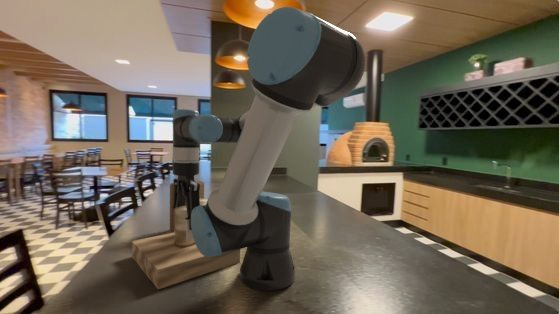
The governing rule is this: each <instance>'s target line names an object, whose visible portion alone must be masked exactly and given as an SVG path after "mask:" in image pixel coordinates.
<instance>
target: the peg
mask: <svg viewBox="0 0 559 314" xmlns="http://www.w3.org/2000/svg"><path fill="white" fill-rule="evenodd" d="M187 217H188V216H187V208H186V206H180V207H176V208H175V232H174V245H175V246H176V247H180V248H183V247H190V246H192V245H194V244H195V241H194V240H190V241H186V219H185V218H187Z"/></svg>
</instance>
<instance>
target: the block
mask: <svg viewBox="0 0 559 314" xmlns="http://www.w3.org/2000/svg"><path fill="white" fill-rule="evenodd" d="M195 183H196V184H197V183H199V184H200V189H199V198H203V199H205V182H204V181H201V180H195ZM173 193H174V182H172V183H170V184H169V233H173V232H175V209H173ZM185 206H186V201H185Z"/></svg>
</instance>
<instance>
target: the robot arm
mask: <svg viewBox="0 0 559 314" xmlns="http://www.w3.org/2000/svg"><path fill="white" fill-rule="evenodd" d="M247 47H248V48H247V57H248V58H247V60H246V62H247V63H246V64H247V68H248V72H249V74H250V75H251V77H252V79H251V84H250V85H251V87H252V89H253V92H254V93H255V96H254V99H253V101H252V103H251V107H250V109H249V110H247V111H246V112H245V113H243V114H242V115H240V116H238V117H228V116H216V115H213V114H209V113H208V114H207V113H201V114H200V112H199V111H198V110H195V109H187V108H186V109H185V108H182V109H181V108H179V109H175V110H174V111H173V113H172V114H173V115H172V161H174V162H172V174H173V175H174V176H177V178H173V181H172V182H173V183H174V193H173V209H175V208H176V207H180V206H185V201H186V208H187V216H188V217H187V218H185V219H186V241H190V240H194V241H195V244H196V246H197V248H198V250H199V251H200V253H201V254H202V255H204V256H206V257H213V256H217V255H218V256H221V255H222V254H226V253H229V252H232V251H236V250H239V249H240V250H241V249H245V250H246V251H245V254H244V256H243V260H242V263H241V265H240V267H239V268H240V269H239V279H240V282H241V283H242V284H243V285H244V286H246V287H247V288H250V289H253V290H256V291H262V292H263V291H266V292H270V291H278V290H279V291H280V290H282V289H285V288H287V287H290V286H291V285H292V284H293V283H294V282H295V280H296V267H295V265H294V262H293V257H292V254H291V250H290V245H291V244H290V241H291V240H290V238H291V221H292V219H291V216H292V209H291V204H292V203H291V200H290V198H289V197H288V196H287V195H284V194H281V193H276V192H270V191H263V190H264V188H265V185H266V184H267V182H268V178H269V177H270V175H271V172H272V170H273V168H275V167H274V166H275V165H276V163H277V160H278V159H279V156H280V154H281V152H282V150H283V148H284V146H285V144H286V142H287V140H288V138H289V136H290V134H291V131H292V130H293V128H294V126H295V124H296V122H297V119H298V118H299V115H301V114H304V113H308V112H310V111H312V109H313V108H316V107H317V106H318V107H322V108H325V107H327V106H329V105H331V104H334V103H336V102H338V101H339V100H341V99H343V98H345V97H346V96H348V95H349V94H350V93H352V92H353V91H354V90H355V89H356V88H357V86H358V85H359V83H361V81H362V78H363V76H364V73H365V69H366V55H365V51H364V47H363V46H362V44H361V42H360V41H359V40H358V39H357V38H356V36H354V35H353V34H352V33H350V32H348V31H346V30H343V29H341V28H339V27H337V26H335V25H333V24H331V23H329V22H327V21H325V20H323V19H322V18H319V17H318V16H316V15H314V14H313V13H312V12H307V11H305V10H302V9H299V8H295V7H292V6H283V7H279V8H276V9H274V10H273V11H272V12H271V13H268V14H267V15H265V17H264V18H263V19H262V20H260V22H259V23H258V25H257V26H256V28H255V30H254V31H253V33H252V36H251V38H250V40H249V44H248V46H247ZM200 144H236V145H235V148H234V150H233V153H232V155H231V158H230V160H229V163H228V166H227V167H226V172H225V174H224V175H223V179H222V181H221V183H220V187H217V188H215V189H214V190H212V191H211V193H210V194H209V197H208V198H207V200H208V201H207V203H206V205H203V206H202V205H200V199H199V189H200V184H199V183H197V184H196V183H195V181H196V179H195V176H198V175H199V173H200V163H199V162H198V161H199V160H200V153H201V151H200Z"/></svg>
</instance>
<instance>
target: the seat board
mask: <svg viewBox="0 0 559 314" xmlns="http://www.w3.org/2000/svg"><path fill="white" fill-rule="evenodd" d="M199 199H200V205H202V206H203V205H206V203H207V201H208V198H204V199H203V198H199ZM131 258H132V259H133V260H134V262H136V264H137V265H138V266H139V267H140V269H141V270H142V272H143V273H144V274H145V275H146V276H147V278H148V279H149V280H150V281H151V283H152V284H153V285H154V287H156V289H157V290H160V289H163V288H166V287H170V286H172V285H175V284H179V283H182V282H184V281H188V280H191V279H194V278H196V277H199V276H203V275H205V274H209V273H211V272H215V271H217V270H220V269H221V270H222V269H223V268H227V267H229V266H233V265H235V264H238V263H240V262H241V249H239V250H236V251H232V252H229V253H226V254H222V255H221V256H218V255H217V256H213V257H206V256H204V255H202V254H201V253H200V251H199V250H198V248H197V246H196V244H194V245H192V246H190V247H183V248H180V247H176V246H175V245H174V232H173V233H170V232H169V233H165V234H160V235H156V236H151V237H145V238H140V239H134V240H131Z"/></svg>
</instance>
